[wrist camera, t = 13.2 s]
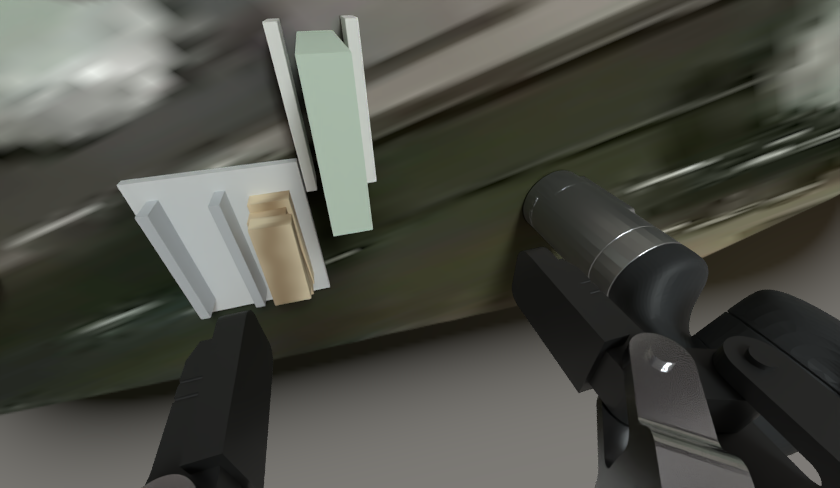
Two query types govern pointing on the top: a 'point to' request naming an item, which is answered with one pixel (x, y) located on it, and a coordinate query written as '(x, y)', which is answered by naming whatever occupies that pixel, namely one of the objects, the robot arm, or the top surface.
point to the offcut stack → (280, 247)
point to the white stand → (292, 103)
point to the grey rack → (218, 229)
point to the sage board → (335, 127)
